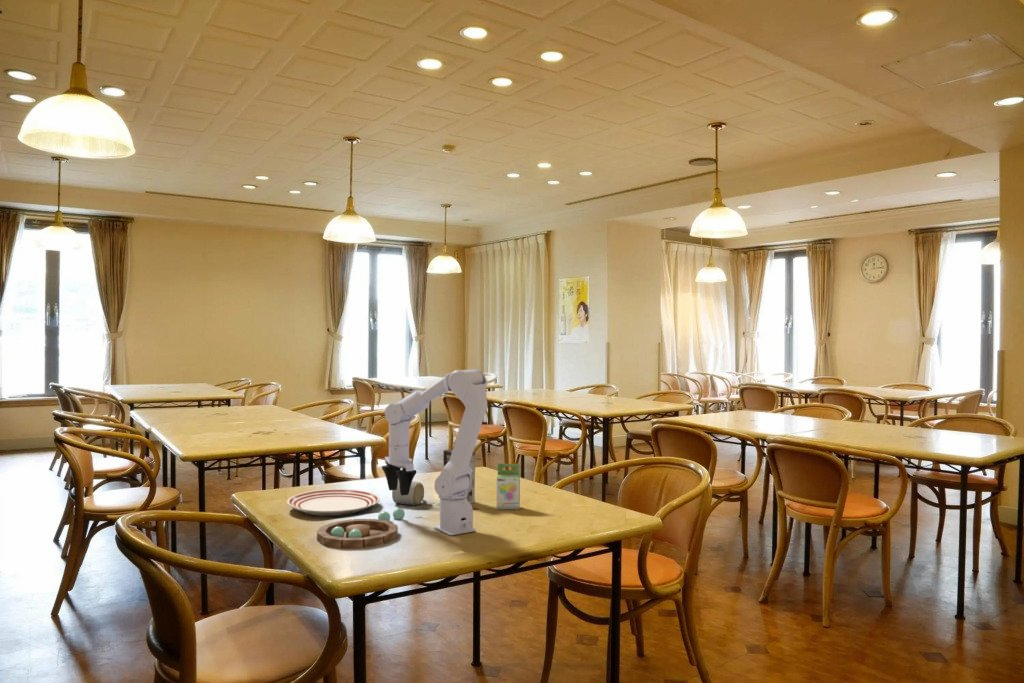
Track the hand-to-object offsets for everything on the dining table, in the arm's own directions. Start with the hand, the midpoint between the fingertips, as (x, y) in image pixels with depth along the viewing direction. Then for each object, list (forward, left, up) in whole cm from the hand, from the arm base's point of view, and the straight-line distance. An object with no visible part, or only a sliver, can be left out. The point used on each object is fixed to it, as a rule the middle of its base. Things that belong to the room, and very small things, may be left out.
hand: (398, 492), depth 202 cm
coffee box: (+10, -26, -8) cm, 29 cm away
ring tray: (-11, +17, -8) cm, 22 cm away
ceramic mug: (+17, -12, -8) cm, 23 cm away
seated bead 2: (-16, +20, -7) cm, 26 cm away
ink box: (-6, -34, -8) cm, 35 cm away
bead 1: (-1, +5, -8) cm, 9 cm away
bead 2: (0, 0, -8) cm, 8 cm away
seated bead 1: (-11, +22, -7) cm, 26 cm away
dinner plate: (+24, +10, -8) cm, 27 cm away
